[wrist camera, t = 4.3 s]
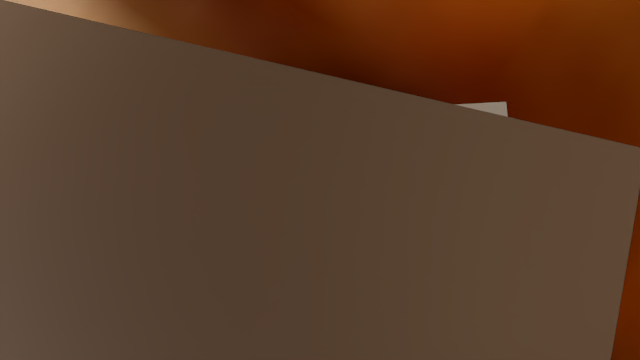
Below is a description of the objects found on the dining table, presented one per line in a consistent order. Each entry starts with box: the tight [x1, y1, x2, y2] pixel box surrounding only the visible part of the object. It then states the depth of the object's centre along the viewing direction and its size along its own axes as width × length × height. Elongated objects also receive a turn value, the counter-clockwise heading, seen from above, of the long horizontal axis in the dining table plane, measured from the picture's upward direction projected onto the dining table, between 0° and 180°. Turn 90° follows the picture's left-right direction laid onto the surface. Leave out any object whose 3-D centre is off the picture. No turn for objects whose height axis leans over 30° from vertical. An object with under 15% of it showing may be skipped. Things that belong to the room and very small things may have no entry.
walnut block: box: [0, 0, 640, 360], centre depth 9 cm, size 4×4×12 cm
